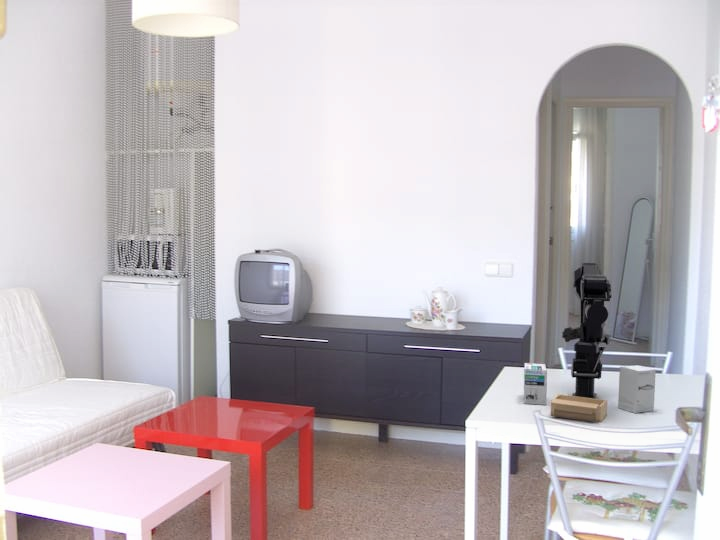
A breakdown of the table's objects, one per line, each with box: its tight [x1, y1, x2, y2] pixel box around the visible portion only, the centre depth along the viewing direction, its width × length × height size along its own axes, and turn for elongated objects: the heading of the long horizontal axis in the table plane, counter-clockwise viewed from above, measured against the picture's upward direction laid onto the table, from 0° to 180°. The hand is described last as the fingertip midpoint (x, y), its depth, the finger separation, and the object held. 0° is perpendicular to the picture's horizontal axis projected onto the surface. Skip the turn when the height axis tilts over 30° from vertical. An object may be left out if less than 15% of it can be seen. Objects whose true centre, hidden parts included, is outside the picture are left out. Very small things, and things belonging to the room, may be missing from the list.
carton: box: [549, 393, 608, 423], centre depth 218 cm, size 8×14×4 cm, turn 61°
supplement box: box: [617, 364, 657, 414], centre depth 225 cm, size 7×7×13 cm
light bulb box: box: [523, 362, 548, 406], centre depth 235 cm, size 11×7×11 cm, turn 168°
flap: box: [550, 398, 598, 423], centre depth 213 cm, size 3×13×5 cm, turn 61°
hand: (591, 371), depth 222 cm, fingers closed
